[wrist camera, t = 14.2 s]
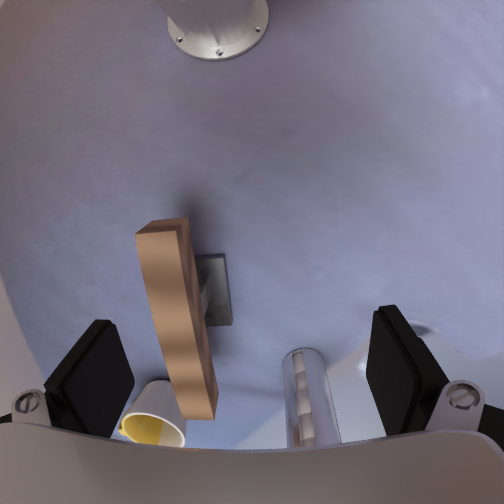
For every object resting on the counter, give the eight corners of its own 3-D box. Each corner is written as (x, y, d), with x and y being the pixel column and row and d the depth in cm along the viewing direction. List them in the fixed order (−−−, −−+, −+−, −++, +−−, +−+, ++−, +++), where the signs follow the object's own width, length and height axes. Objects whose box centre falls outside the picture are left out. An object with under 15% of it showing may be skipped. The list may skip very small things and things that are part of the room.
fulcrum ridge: (166, 257, 42) (147, 282, 35) (224, 253, 42) (215, 279, 34) (179, 321, 46) (165, 353, 38) (232, 319, 45) (226, 353, 38)
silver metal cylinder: (279, 377, 49) (284, 516, 25) (286, 345, 46) (297, 494, 23) (318, 379, 49) (341, 514, 25) (327, 349, 46) (361, 490, 23)
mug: (181, 365, 49) (166, 411, 39) (204, 407, 52) (195, 452, 42) (115, 374, 50) (93, 414, 41) (140, 412, 54) (125, 452, 44)
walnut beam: (152, 220, 32) (134, 234, 28) (188, 217, 32) (175, 230, 27) (190, 393, 40) (183, 419, 36) (218, 393, 40) (214, 420, 35)
